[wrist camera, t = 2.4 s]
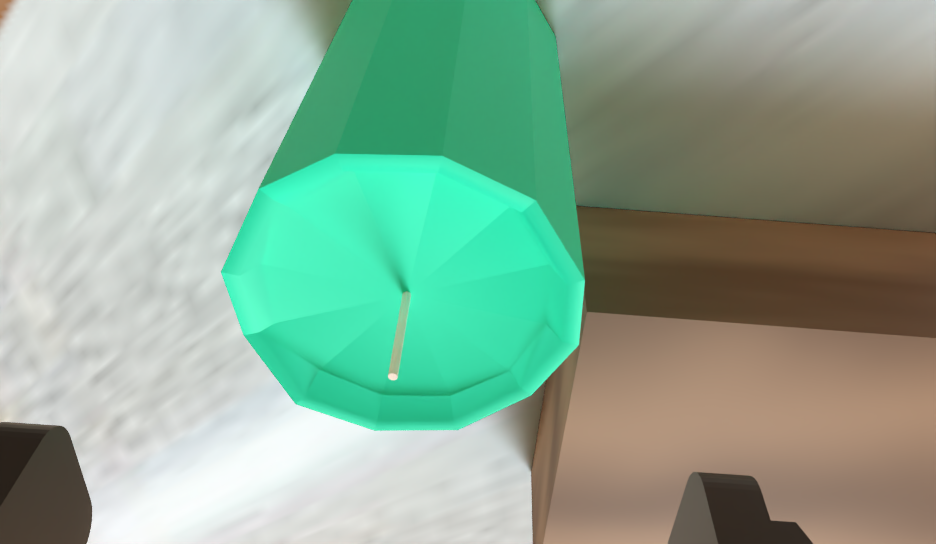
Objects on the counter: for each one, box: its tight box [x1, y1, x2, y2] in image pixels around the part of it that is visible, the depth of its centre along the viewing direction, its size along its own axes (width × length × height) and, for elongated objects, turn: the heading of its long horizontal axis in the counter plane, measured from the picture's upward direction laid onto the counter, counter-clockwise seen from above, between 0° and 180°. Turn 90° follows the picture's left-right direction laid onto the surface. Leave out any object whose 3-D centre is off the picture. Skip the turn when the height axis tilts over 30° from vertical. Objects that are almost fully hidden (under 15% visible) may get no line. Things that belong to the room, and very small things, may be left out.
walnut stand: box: [531, 206, 936, 544], centre depth 26 cm, size 12×12×5 cm
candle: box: [221, 0, 585, 431], centre depth 17 cm, size 6×6×12 cm
